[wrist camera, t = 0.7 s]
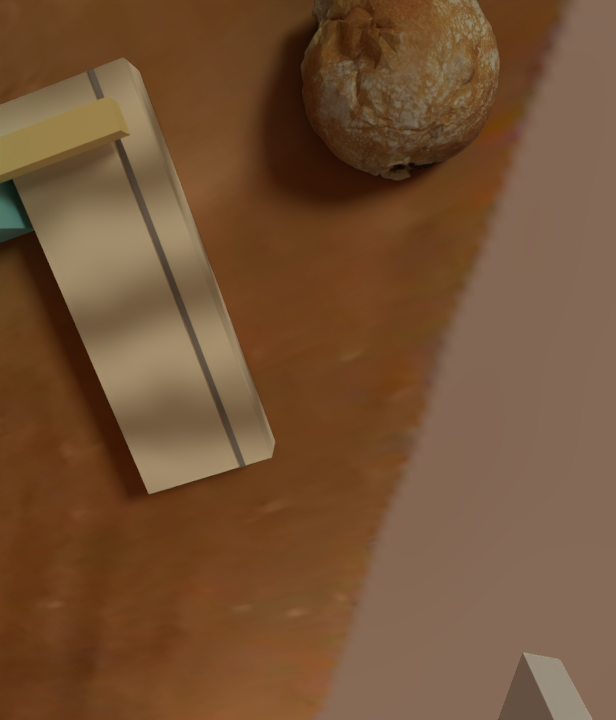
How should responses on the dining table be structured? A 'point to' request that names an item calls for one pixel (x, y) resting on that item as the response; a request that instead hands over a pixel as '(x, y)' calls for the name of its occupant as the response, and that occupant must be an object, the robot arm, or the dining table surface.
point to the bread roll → (399, 81)
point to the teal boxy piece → (51, 152)
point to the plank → (142, 287)
